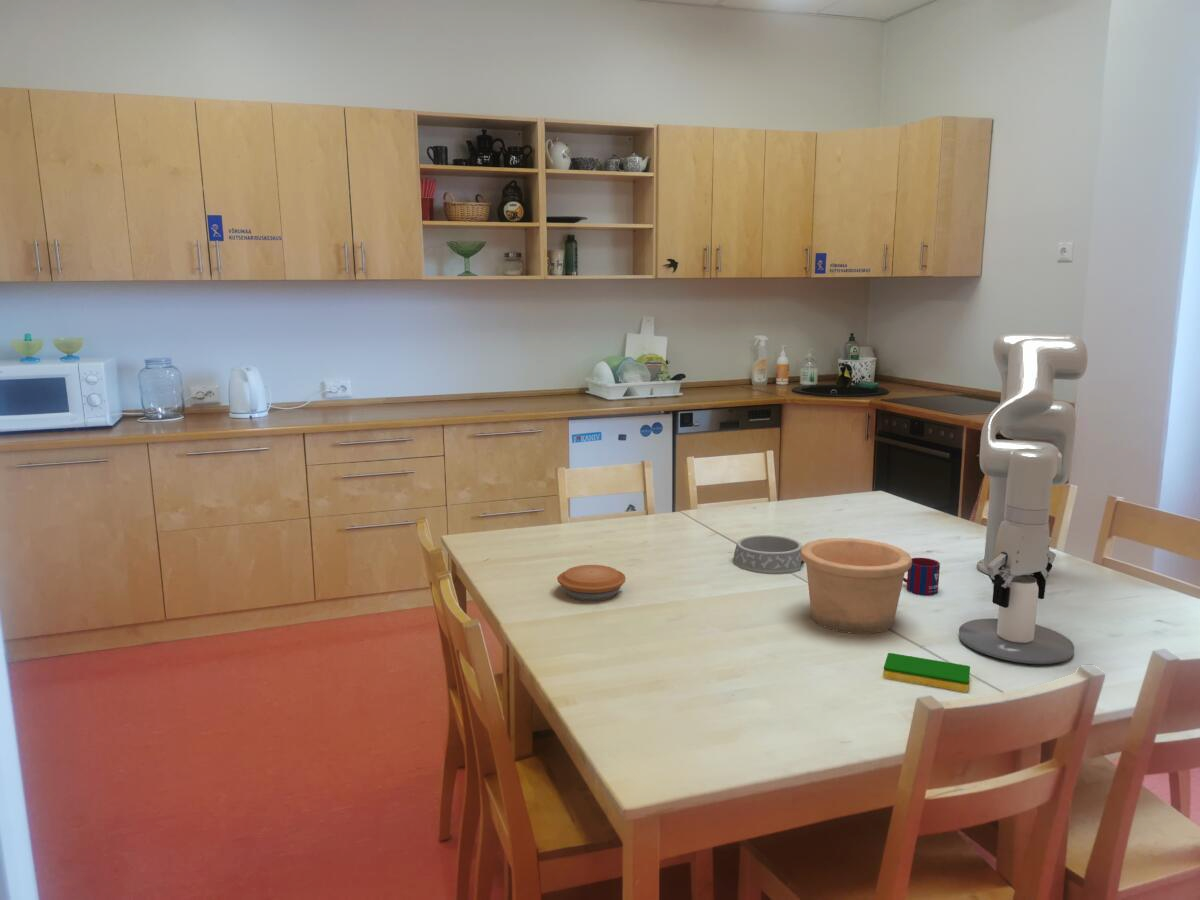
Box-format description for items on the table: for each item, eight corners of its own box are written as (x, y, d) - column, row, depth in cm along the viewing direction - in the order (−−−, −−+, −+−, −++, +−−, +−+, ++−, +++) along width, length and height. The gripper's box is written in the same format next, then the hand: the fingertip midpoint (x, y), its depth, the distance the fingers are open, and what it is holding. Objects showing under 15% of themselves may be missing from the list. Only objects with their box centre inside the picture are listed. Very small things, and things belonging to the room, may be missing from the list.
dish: (1006, 618, 178) (1007, 612, 178) (1097, 654, 160) (1098, 647, 160) (935, 635, 170) (936, 628, 169) (1023, 675, 152) (1024, 667, 152)
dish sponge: (967, 695, 145) (968, 681, 145) (882, 680, 151) (883, 667, 151) (969, 678, 152) (970, 665, 151) (887, 664, 157) (888, 651, 157)
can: (989, 631, 168) (995, 573, 166) (1021, 630, 168) (1026, 572, 166) (1008, 644, 161) (1013, 584, 159) (1041, 643, 162) (1046, 583, 160)
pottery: (850, 647, 164) (854, 576, 161) (776, 610, 183) (778, 545, 180) (930, 627, 174) (935, 559, 171) (852, 594, 193) (856, 532, 190)
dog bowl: (726, 570, 210) (727, 549, 209) (743, 550, 227) (744, 530, 226) (796, 579, 204) (797, 557, 203) (808, 557, 221) (809, 537, 220)
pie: (636, 586, 198) (636, 566, 197) (609, 609, 184) (609, 586, 183) (576, 577, 204) (576, 557, 203) (545, 598, 190) (545, 577, 190)
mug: (926, 597, 190) (928, 568, 189) (888, 585, 198) (889, 557, 197) (943, 591, 194) (946, 562, 193) (905, 580, 202) (907, 552, 201)
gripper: (1040, 504, 167) (1032, 587, 171) (976, 515, 160) (969, 602, 163) (1075, 513, 161) (1066, 600, 164) (1011, 525, 153) (1002, 615, 157)
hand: (1018, 601), depth 164 cm, fingers open, 9 cm apart
